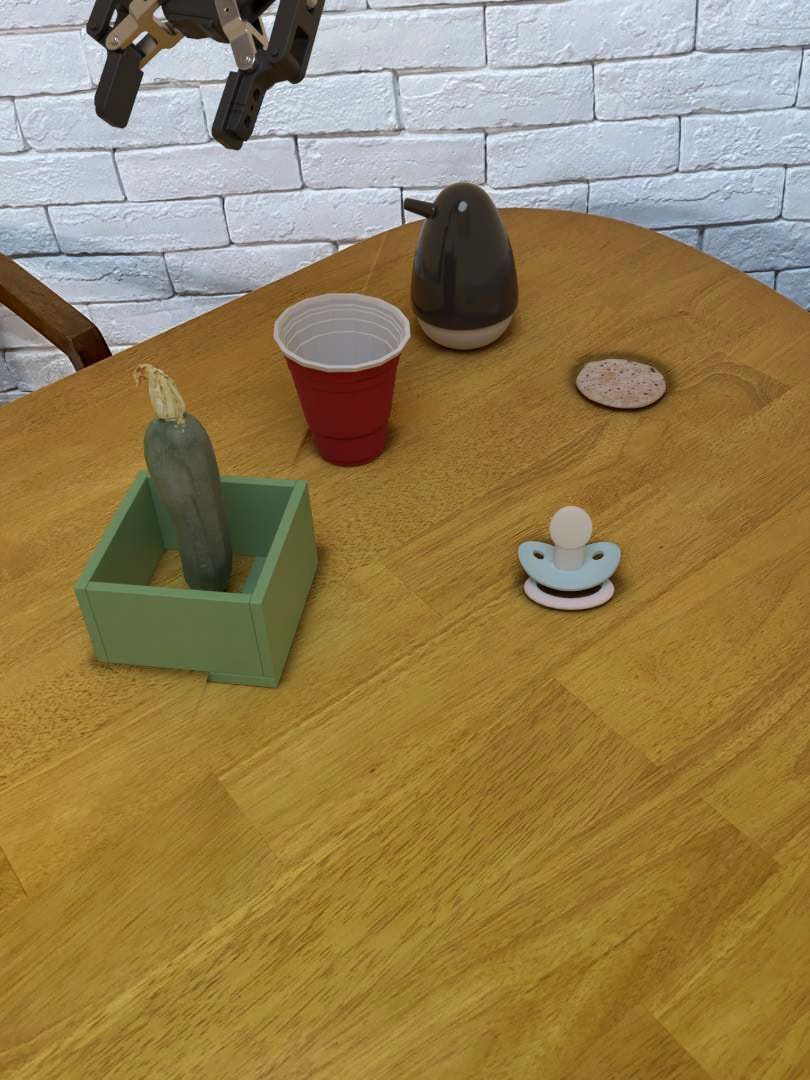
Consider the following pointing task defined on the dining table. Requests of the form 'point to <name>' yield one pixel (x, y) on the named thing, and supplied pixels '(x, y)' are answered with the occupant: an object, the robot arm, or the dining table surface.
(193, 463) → the vegetable
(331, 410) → the plastic cup
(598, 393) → the flatbread
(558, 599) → the pacifier
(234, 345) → the dining table surface
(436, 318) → the pump dispenser
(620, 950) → the dining table surface
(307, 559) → the green bin
